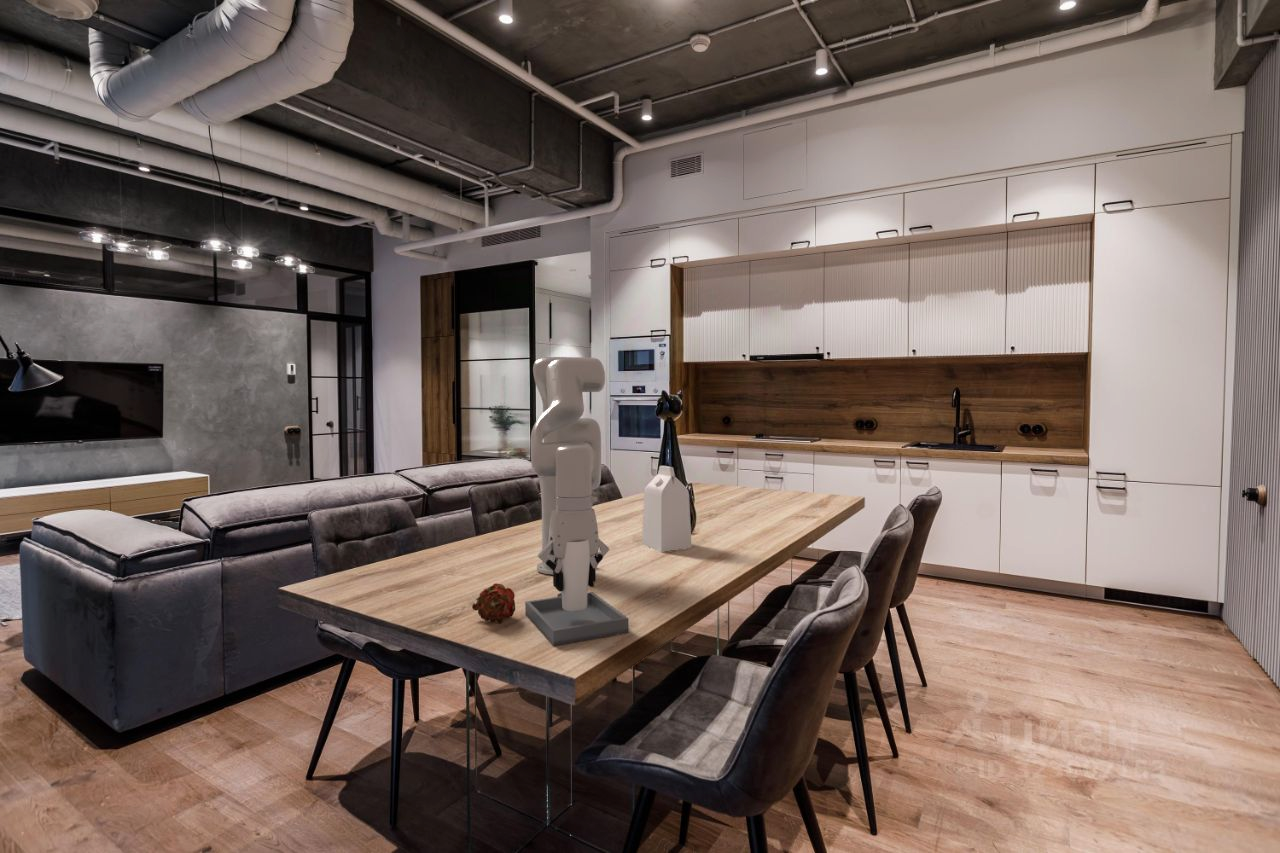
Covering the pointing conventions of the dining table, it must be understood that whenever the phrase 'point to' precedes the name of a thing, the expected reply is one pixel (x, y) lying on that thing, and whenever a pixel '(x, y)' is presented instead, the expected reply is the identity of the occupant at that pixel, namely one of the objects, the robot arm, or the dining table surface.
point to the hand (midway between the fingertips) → (574, 586)
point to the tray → (575, 620)
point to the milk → (666, 513)
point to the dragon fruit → (495, 603)
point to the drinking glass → (575, 576)
